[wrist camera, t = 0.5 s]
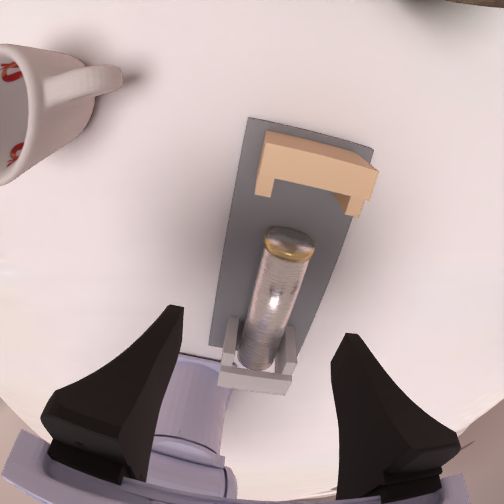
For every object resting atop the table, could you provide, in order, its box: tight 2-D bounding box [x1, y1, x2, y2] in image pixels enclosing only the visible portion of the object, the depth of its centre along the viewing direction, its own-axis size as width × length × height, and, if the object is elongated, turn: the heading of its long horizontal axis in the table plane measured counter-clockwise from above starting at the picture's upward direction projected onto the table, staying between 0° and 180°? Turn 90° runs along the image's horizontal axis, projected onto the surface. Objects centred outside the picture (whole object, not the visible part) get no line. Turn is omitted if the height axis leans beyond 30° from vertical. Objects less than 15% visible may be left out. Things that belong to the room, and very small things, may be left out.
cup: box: [0, 44, 123, 186], centre depth 13 cm, size 11×8×8 cm
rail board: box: [209, 118, 379, 395], centre depth 20 cm, size 19×8×5 cm, turn 169°
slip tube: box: [237, 227, 315, 371], centre depth 22 cm, size 11×3×3 cm, turn 169°
